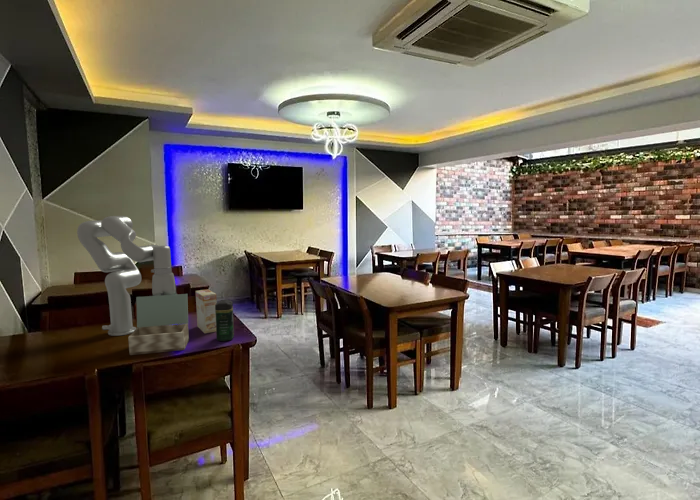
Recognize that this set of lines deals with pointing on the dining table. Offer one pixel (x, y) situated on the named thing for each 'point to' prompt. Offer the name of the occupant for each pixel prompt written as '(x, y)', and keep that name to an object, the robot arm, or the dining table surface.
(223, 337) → the coffee jar
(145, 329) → the chest
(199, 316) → the coffeecake box
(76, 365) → the dining table surface
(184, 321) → the lid
